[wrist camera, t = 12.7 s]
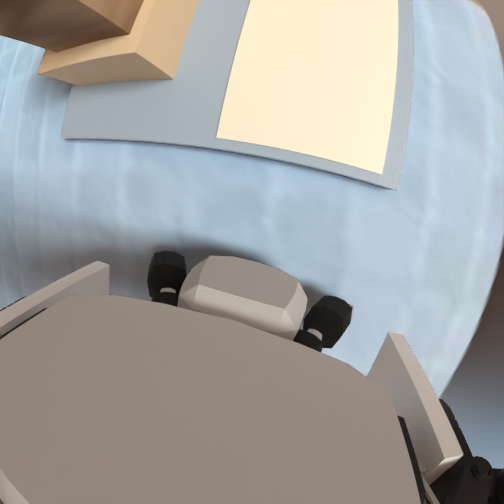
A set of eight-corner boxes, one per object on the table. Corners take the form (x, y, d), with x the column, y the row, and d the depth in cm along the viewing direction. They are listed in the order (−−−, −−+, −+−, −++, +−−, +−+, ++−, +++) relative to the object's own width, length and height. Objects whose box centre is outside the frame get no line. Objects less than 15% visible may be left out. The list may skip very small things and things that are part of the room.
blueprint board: (71, 139, 15) (14, 136, 10) (126, -21, 11) (91, -50, 6) (389, 189, 13) (435, 196, 8) (405, -6, 9) (431, -47, 4)
